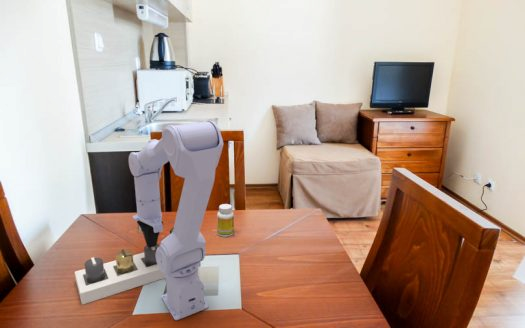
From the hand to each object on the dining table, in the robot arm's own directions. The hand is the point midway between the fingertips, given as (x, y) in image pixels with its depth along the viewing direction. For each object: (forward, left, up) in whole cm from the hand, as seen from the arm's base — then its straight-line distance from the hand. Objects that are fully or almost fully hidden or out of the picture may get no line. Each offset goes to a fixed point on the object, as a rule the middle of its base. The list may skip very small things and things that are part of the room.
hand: (151, 245), depth 92 cm
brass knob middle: (0, +7, -5) cm, 8 cm away
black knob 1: (0, +14, -5) cm, 15 cm away
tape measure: (+12, -13, -8) cm, 19 cm away
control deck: (0, +7, -7) cm, 10 cm away
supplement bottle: (+8, -26, -8) cm, 28 cm away
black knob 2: (0, 0, -5) cm, 5 cm away
